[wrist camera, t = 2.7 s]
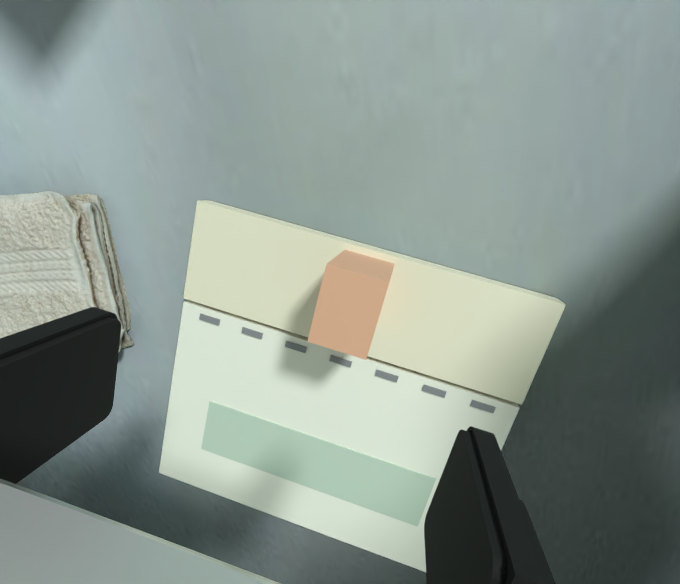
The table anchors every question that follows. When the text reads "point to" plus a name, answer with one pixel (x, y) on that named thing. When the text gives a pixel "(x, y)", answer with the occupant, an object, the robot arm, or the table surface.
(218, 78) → the table surface
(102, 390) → the robot arm
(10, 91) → the table surface
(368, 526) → the ticket
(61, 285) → the washcloth
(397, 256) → the stub
